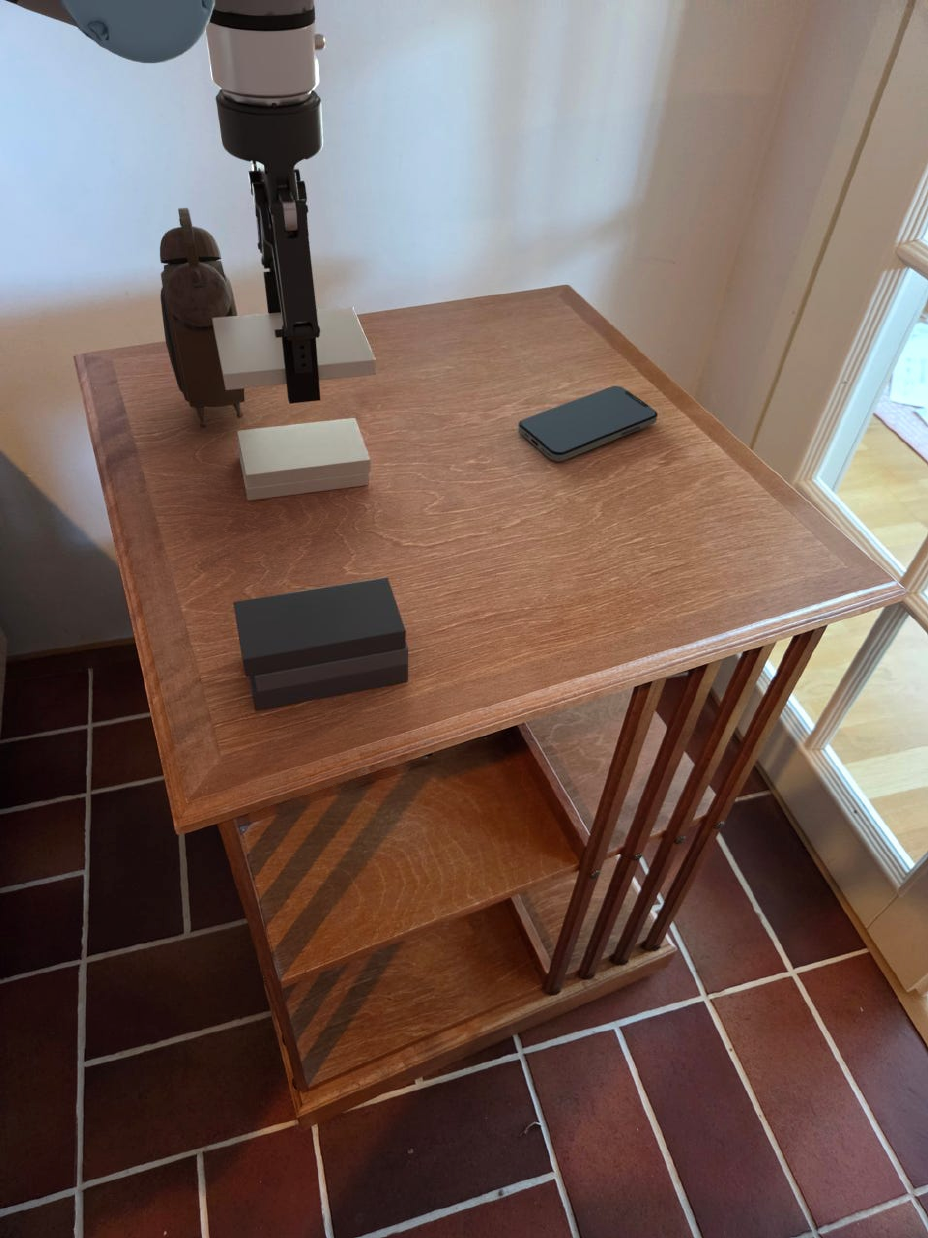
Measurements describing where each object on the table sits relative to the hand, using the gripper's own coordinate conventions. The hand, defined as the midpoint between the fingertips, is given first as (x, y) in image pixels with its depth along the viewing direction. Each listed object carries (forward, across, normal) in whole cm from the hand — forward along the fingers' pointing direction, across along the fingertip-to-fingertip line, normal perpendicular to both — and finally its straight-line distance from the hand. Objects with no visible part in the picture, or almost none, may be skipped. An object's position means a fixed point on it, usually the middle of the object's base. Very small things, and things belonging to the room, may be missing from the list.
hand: (294, 368), depth 76 cm
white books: (+11, 0, 0) cm, 11 cm away
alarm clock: (+12, +14, +8) cm, 20 cm away
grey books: (+11, -26, +3) cm, 29 cm away
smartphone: (+12, +1, -32) cm, 34 cm away
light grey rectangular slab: (-1, 0, 0) cm, 1 cm away
